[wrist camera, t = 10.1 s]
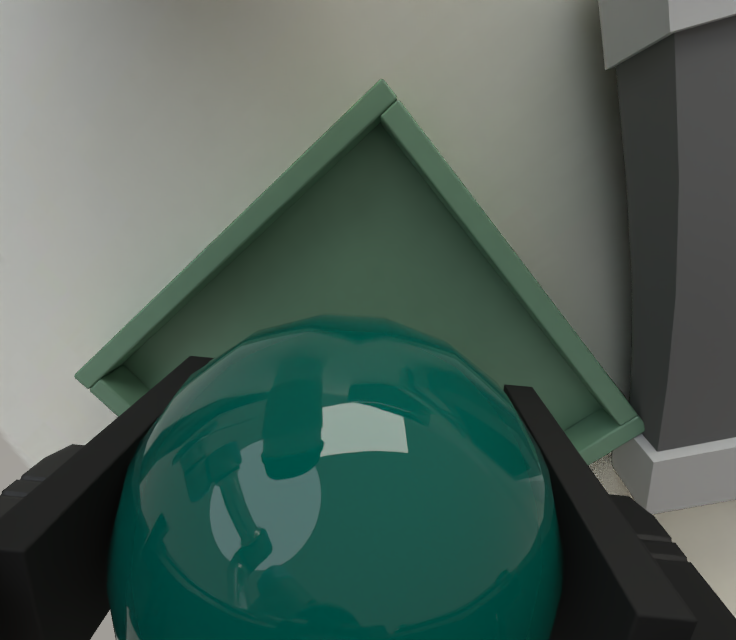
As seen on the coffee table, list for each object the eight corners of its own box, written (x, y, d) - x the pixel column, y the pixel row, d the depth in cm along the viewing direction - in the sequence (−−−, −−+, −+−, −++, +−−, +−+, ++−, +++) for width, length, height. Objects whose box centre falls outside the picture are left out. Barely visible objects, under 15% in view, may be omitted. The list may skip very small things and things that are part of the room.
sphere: (235, 245, 11) (-113, 383, 3) (536, 310, 11) (859, 583, 4) (207, 495, 13) (-32, 903, 6) (454, 546, 14) (539, 1008, 6)
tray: (105, 356, 14) (72, 376, 13) (383, 91, 12) (382, 76, 10) (344, 577, 17) (340, 616, 15) (621, 403, 14) (649, 429, 12)
